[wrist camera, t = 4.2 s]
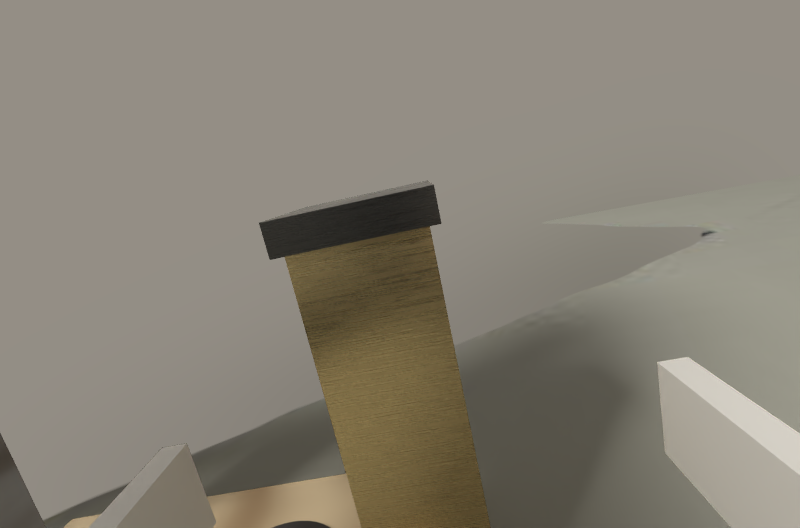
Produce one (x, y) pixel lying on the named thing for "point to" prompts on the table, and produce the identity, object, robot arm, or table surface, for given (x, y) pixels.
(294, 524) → the tan and grey stand
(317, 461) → the table surface
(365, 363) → the brass leg
